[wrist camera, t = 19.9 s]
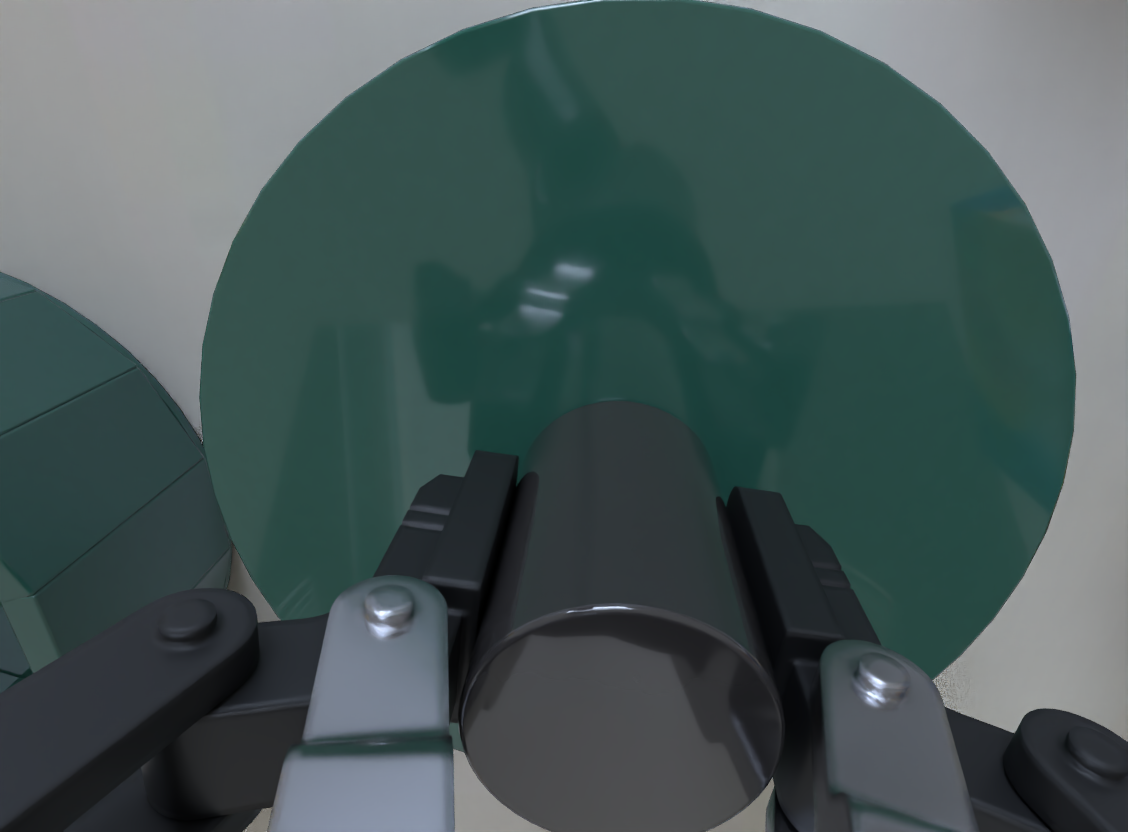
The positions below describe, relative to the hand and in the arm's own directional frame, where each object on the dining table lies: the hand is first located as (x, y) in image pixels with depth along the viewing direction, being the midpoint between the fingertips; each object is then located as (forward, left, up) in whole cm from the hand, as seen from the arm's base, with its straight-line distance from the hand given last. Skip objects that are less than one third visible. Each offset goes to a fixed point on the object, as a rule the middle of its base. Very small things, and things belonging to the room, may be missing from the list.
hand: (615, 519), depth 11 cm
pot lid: (0, 0, -2) cm, 2 cm away
